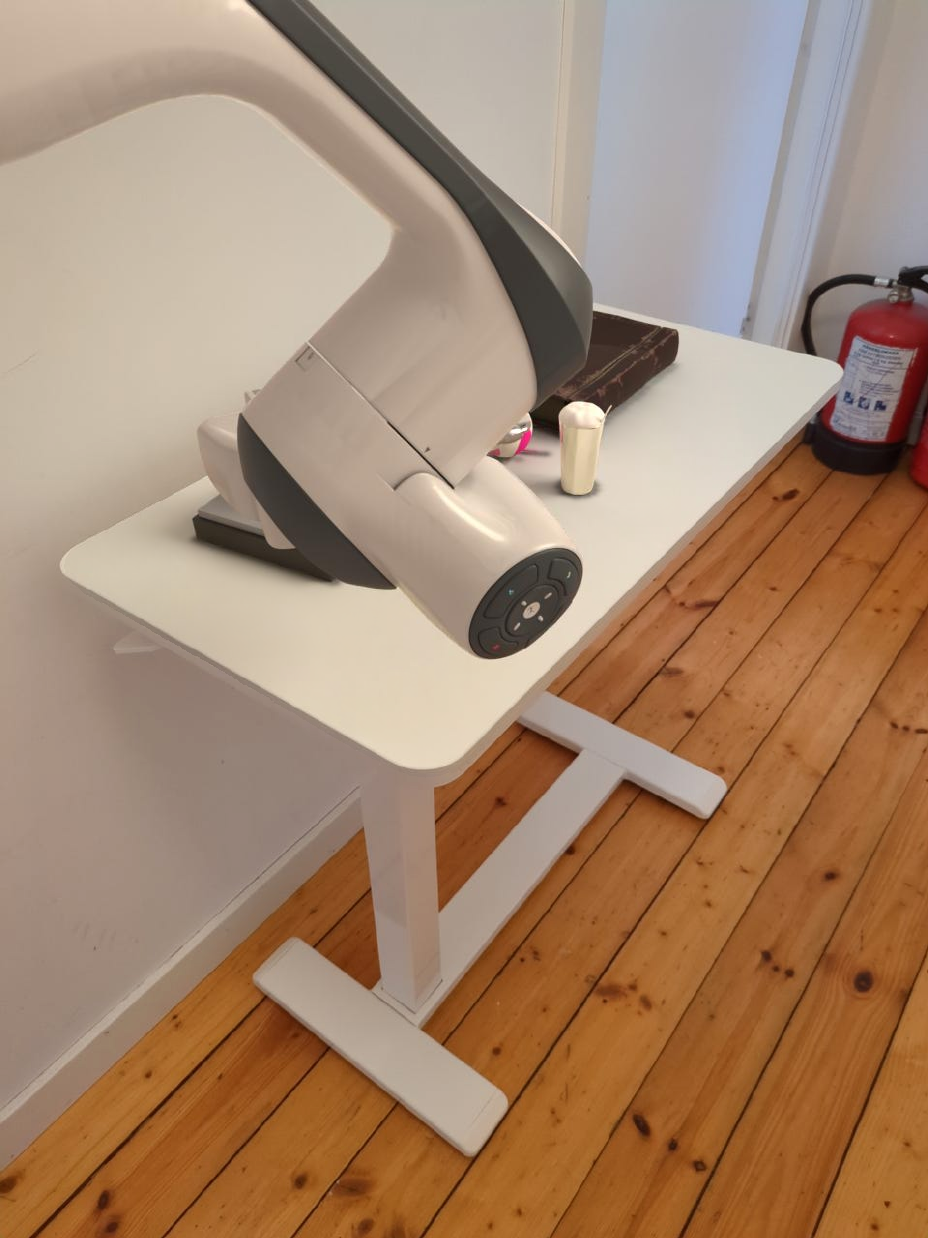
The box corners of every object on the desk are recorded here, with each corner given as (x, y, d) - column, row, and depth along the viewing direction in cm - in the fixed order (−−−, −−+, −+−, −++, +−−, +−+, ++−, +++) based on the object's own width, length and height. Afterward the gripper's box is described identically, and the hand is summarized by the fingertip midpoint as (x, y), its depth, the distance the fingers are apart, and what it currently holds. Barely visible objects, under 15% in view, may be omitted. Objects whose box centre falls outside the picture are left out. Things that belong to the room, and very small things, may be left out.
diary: (678, 365, 116) (683, 327, 113) (585, 443, 101) (588, 401, 98) (553, 337, 125) (555, 301, 122) (450, 404, 109) (449, 365, 106)
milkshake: (591, 505, 90) (598, 414, 84) (546, 490, 93) (550, 400, 87) (614, 487, 93) (622, 397, 87) (570, 472, 96) (575, 383, 89)
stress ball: (516, 494, 99) (552, 453, 94) (456, 454, 97) (490, 410, 92) (526, 459, 104) (560, 418, 100) (469, 420, 102) (502, 377, 98)
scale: (196, 539, 87) (189, 510, 85) (283, 474, 97) (278, 447, 95) (332, 581, 81) (328, 552, 79) (410, 508, 91) (408, 480, 89)
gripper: (545, 384, 56) (447, 315, 66) (227, 462, 49) (168, 372, 59) (542, 473, 60) (449, 395, 70) (246, 557, 53) (188, 457, 63)
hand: (319, 385), depth 64 cm, fingers open, 8 cm apart
